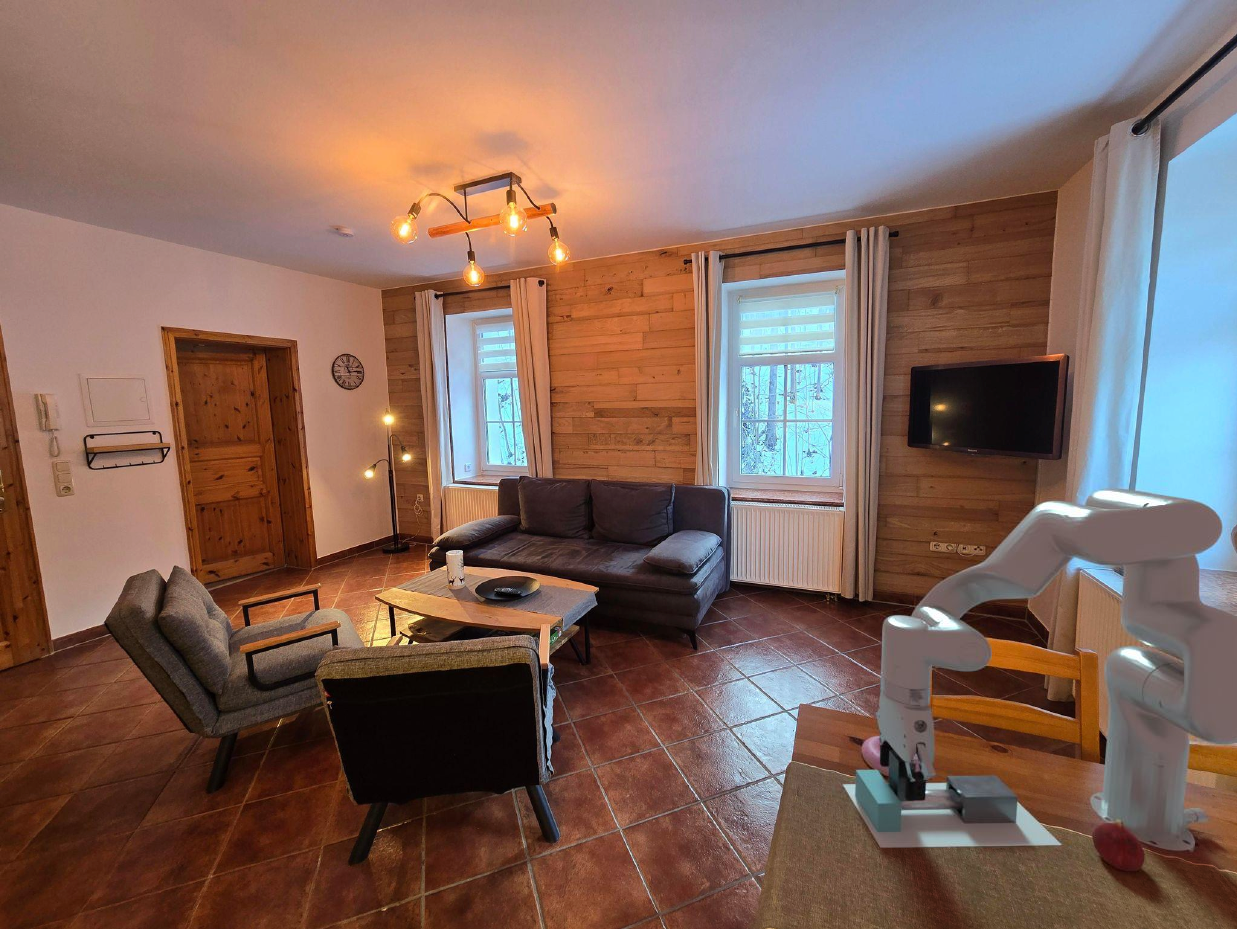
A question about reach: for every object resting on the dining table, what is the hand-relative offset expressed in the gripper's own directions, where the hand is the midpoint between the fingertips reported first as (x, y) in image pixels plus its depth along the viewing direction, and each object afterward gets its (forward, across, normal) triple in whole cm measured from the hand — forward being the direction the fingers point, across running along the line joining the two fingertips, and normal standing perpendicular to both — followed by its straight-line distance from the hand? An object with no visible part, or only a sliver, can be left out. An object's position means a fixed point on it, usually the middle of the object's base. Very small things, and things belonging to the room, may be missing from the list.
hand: (901, 781), depth 88 cm
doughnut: (+8, +14, -6) cm, 17 cm away
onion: (+8, -10, -29) cm, 31 cm away
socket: (+6, 0, +4) cm, 7 cm away
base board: (+7, 0, -8) cm, 11 cm away
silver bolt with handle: (+5, 0, -5) cm, 7 cm away
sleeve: (+6, 0, -14) cm, 16 cm away
